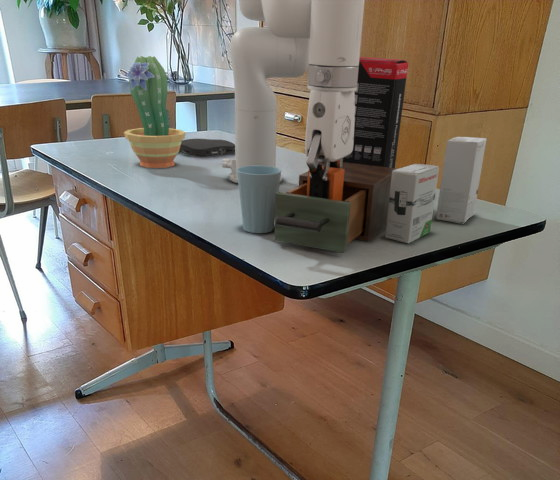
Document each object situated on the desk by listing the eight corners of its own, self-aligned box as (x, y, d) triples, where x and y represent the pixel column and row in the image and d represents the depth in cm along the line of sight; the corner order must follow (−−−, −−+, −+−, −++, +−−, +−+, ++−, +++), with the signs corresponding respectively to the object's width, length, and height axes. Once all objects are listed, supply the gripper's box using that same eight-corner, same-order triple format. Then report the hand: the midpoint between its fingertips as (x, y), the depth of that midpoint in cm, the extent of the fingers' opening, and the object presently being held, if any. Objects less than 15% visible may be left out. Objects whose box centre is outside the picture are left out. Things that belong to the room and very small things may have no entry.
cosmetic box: (464, 224, 113) (479, 142, 106) (433, 219, 116) (446, 139, 108) (474, 215, 120) (489, 137, 112) (444, 210, 122) (457, 133, 115)
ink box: (406, 228, 110) (416, 161, 104) (430, 233, 108) (441, 165, 102) (383, 238, 104) (391, 168, 98) (407, 244, 102) (417, 173, 96)
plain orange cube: (306, 203, 97) (307, 170, 95) (316, 197, 101) (318, 165, 98) (332, 207, 96) (334, 174, 93) (342, 200, 99) (344, 168, 97)
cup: (281, 224, 110) (283, 166, 105) (277, 236, 104) (278, 175, 98) (241, 221, 111) (241, 164, 105) (234, 234, 104) (233, 173, 99)
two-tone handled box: (332, 262, 90) (336, 211, 86) (260, 249, 95) (260, 200, 91) (372, 230, 105) (376, 185, 102) (308, 219, 110) (310, 176, 106)
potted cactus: (116, 162, 154) (104, 54, 142) (166, 156, 163) (159, 54, 151) (146, 173, 145) (137, 57, 132) (198, 166, 154) (194, 57, 141)
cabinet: (367, 241, 103) (373, 184, 98) (296, 229, 108) (299, 175, 103) (393, 219, 115) (399, 168, 110) (328, 210, 120) (331, 160, 115)
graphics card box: (393, 201, 127) (411, 58, 114) (381, 208, 122) (398, 59, 108) (322, 190, 134) (331, 54, 121) (308, 196, 129) (315, 55, 116)
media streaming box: (212, 146, 180) (212, 135, 178) (240, 154, 170) (240, 143, 169) (170, 150, 172) (169, 139, 170) (197, 158, 162) (196, 147, 160)
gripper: (335, 84, 81) (326, 216, 90) (373, 77, 94) (362, 193, 104) (286, 80, 84) (282, 209, 93) (330, 74, 97) (322, 187, 106)
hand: (324, 199), depth 98 cm, fingers closed on plain orange cube, 4 cm apart
